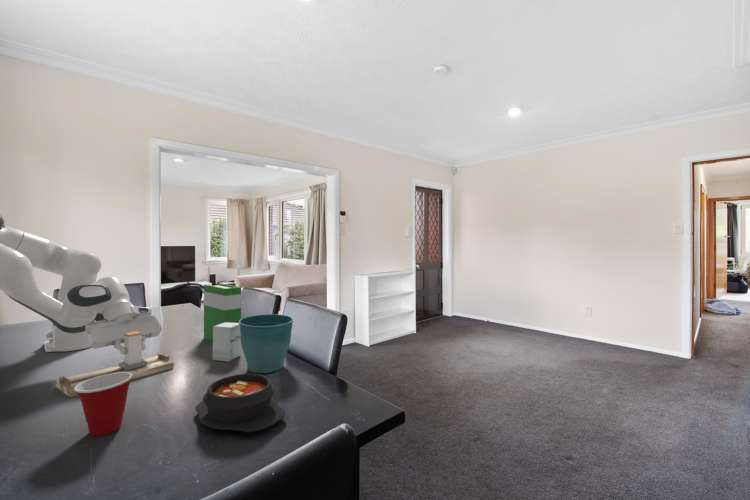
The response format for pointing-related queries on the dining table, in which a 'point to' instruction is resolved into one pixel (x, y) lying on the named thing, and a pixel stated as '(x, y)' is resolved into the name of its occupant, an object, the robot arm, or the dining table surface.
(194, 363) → the dining table surface
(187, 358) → the dining table surface
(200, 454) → the dining table surface
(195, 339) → the dining table surface
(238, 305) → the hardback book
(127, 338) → the fader handle
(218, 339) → the supplement box
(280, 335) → the flower pot
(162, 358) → the fader console
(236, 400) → the casserole
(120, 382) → the plastic cup
